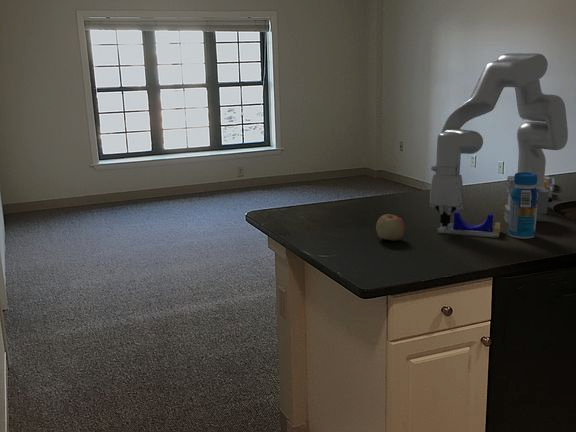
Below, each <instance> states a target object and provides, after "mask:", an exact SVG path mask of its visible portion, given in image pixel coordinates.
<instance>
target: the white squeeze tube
mask: <svg viewBox="0 0 576 432" xmlns="http://www.w3.org/2000/svg"><path fill="white" fill-rule="evenodd" d="M501 224H502V223H501V222H497V221H496V222H495V223H494V226H493V227H492V232H483V231H470V230H457V229H453V223H451V222H450V224H448V226H447V227H445V226H444V227H443V226H442V223H440V227H437V234H444V235H445V234H446V235H455V236H457V235H458V236H470V237H482V238H495V239H496V238H497V239H499V237H500V232H501ZM458 228H459V227H458ZM486 229H487V230H490V229H489V228H486Z"/></svg>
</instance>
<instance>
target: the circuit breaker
mask: <svg viewBox="0 0 576 432" xmlns="http://www.w3.org/2000/svg"><path fill="white" fill-rule="evenodd" d="M514 176H515V175H507V179H506V185H505V188H506V191H507V194H508V193H509V195H508V196H507V197H508V198H507V204H505V205H504V216H503V218H504V220H505V222H506V224H509V216H510V200H511V199H512V198H511V192H512V190H513V189H514V187H515V186H516V185H515V184H514ZM534 187H535V186H534ZM535 188H536V190H537V192H538V198H537V201H538V208H537V214H546V215H547V213H548V206H549V205H548V203H553V198H551V197H548V191H547V190H546V189H545V187H535Z"/></svg>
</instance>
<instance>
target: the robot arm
mask: <svg viewBox="0 0 576 432" xmlns="http://www.w3.org/2000/svg"><path fill="white" fill-rule="evenodd" d="M548 65H549V64H548V59H547V58H546V56H545V55H543V54H542V53H537V52H536V53H535V52H534V53H533V52H532V53H522V52H519V53H516V52H515V53H513V52H512V53H504V54H501V55H500V56H498V58H497V59H496V60H495V61H491V62H489V63H487V64H486V65H485V66H484V68H483V70H482V72H481V74H480V77H479V78H478V81H477V82H476V85H475V87H474V89H473V91H472V94H471V95H470V97H469V98H468V100H466V101H465V102H464V103H462V104H461V105H459V106H458V107H457V108H456V109H455V110H454V111H453V112H452V113H451V114H449V116H448V117H447V119H446V120H445V122H444V125H443V127H442V129H441V131H440V133H439V134H438V135H437V139H436V159H435V160H436V161H435V162H436V163H435V165H434V166H431V170H430V171H433V172H434V174H432V178H431V184H430V192H429V205H428V206H429V208H432V209H435V210H436V211H438V212H437V213H439V214H440V218H439V219H440V221H439V222H440V224H441V223H442V226H443V227H444V226H445V227H447V226H448V224H450V223H451V215H452V214H453V213H455V211H461V210H463V209H464V205H463V200H464V197H463V195H464V186H463V177H462V174H461V159H462V157H461V156H462V154H463V155H465V154H466V155H467V154H468V155H473V154H476V153H477V152H479V151H480V150H481V149H482V147H483V144H484V138H483V136H482V135H481V134H480V133H479V132H477V131H475V130H470V129H469V130H468V129H462V127H463V126H464V125H465V124H466V123H467V122H469V121H472V120H473V119H475V118H477V117H481V116H484V115H486V114H488V113H490V112H492V111H493V110H495V107H496V106H497V102H498V101H499V100H500V99H499V98H500V97H501V94H502V92H503V90H504V89H505V88H514V92H515V99H516V104H517V106H516V107H517V111H518V115H519V117H520V118H521V119H522V120H524V121H526V122H523V123H521V124H520V125H519V127H518V129H517V131H516V132H517V133H516V139H517V146H518V147H517V148H518V160H517V161H518V163H517V172H516V173H520V172H528V173H535V174H537V184H536V186H535V187H544V177H546V165H547V162H546V161H547V159H546V156H545V154H544V151H543V150H550V151H560V150H562V149H564V148H566V147H565V146H566V145H567V144H568V139H569V132H568V131H569V130H568V128H569V127H568V121H567V120H568V119H567V110H566V104H565V102H564V100H563V98H562V97H560V96H559V95H555V94H546V93H543V92H542V87H541V86H542V85H541V82H540V79H542V78H543V77H544V76H545V75H546V72H547V70H548V68H549V66H548ZM445 207H447V210H446V211H445Z"/></svg>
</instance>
